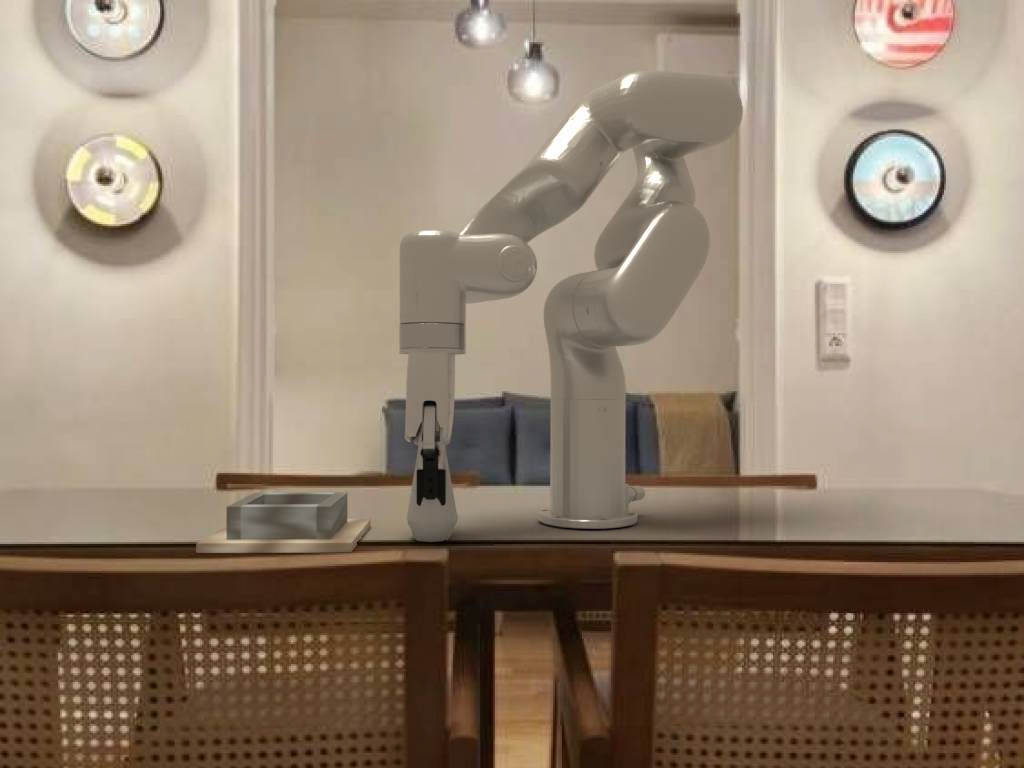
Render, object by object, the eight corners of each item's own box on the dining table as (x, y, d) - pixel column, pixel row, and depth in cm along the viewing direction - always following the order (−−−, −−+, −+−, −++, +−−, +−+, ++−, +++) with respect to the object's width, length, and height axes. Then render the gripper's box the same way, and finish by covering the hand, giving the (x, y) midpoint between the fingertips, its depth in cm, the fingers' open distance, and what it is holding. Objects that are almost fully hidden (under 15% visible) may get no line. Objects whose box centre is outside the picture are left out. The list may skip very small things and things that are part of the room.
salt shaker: (461, 534, 98) (461, 423, 98) (453, 543, 92) (453, 425, 92) (412, 533, 98) (412, 422, 98) (401, 542, 93) (401, 425, 93)
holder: (370, 526, 103) (370, 490, 102) (351, 552, 88) (351, 509, 87) (238, 527, 102) (238, 490, 102) (196, 552, 87) (196, 509, 87)
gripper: (406, 344, 103) (406, 493, 103) (391, 337, 87) (391, 514, 87) (467, 344, 103) (466, 493, 104) (463, 338, 87) (463, 514, 87)
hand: (432, 501), depth 95 cm, fingers open, 3 cm apart
